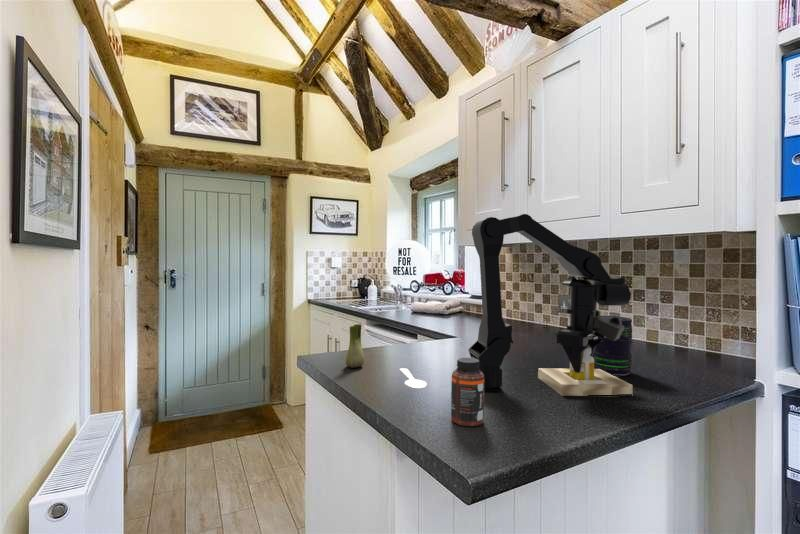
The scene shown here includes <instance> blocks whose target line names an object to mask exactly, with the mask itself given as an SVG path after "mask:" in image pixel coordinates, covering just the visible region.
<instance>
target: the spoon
mask: <svg viewBox="0 0 800 534" xmlns="http://www.w3.org/2000/svg"><path fill="white" fill-rule="evenodd" d="M399 371H400V372H401V373H402V374H403V375H404V376H405V377H406V378H407V379H406V380H405V381H404V385H405V386H406V387H409V388H411V389H412V388H413V389H418V390H419V389H425V388H427V386H428V383H427V382H426V380H422V379H416V378H415V377H414V376H413V374H412V373H411V371H410V370H409V369H408V368H407V367H405V368H404V367H401V368H399Z"/></svg>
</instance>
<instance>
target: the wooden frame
mask: <svg viewBox="0 0 800 534" xmlns="http://www.w3.org/2000/svg"><path fill="white" fill-rule="evenodd" d="M537 379H539V380H540V381H541V382H542V383H544V384H546V386H548V387H549V388H551V389H552V390H553V391H555V392H556V393H557V394H559V395H560V396H562V397H563V396H566V397H567V396H569V397H572V396H573V397H579V396H580V397H581V396H582V397H589V396H588V395H617V394H632V395H633V392H634V391H633V389H634V387H633V384H631V383H629V382H627V381H626V380H623V379H621V378H619V377H618V376H613V375H611V374H609V373H607V372H605V371H603V370H601V369H594V380H574V379H573V378H571V377H570V368H560V367H559V368H556V367H555V368H554V367H553V368H551V367H549V368H548V367H547V368H545V367H543V368H542V367H540V368H538V371H537Z"/></svg>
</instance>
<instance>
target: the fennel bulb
mask: <svg viewBox="0 0 800 534" xmlns="http://www.w3.org/2000/svg"><path fill="white" fill-rule="evenodd" d="M347 350H348V351H347V353H346V357H345V365H346V366H347V367H348V368H351V369H355V368H360V367H362V366H363V365H364V362H365V355H364V351H363V346H362V323H356V324H353V325H350V326H349V346H348V349H347Z"/></svg>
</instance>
